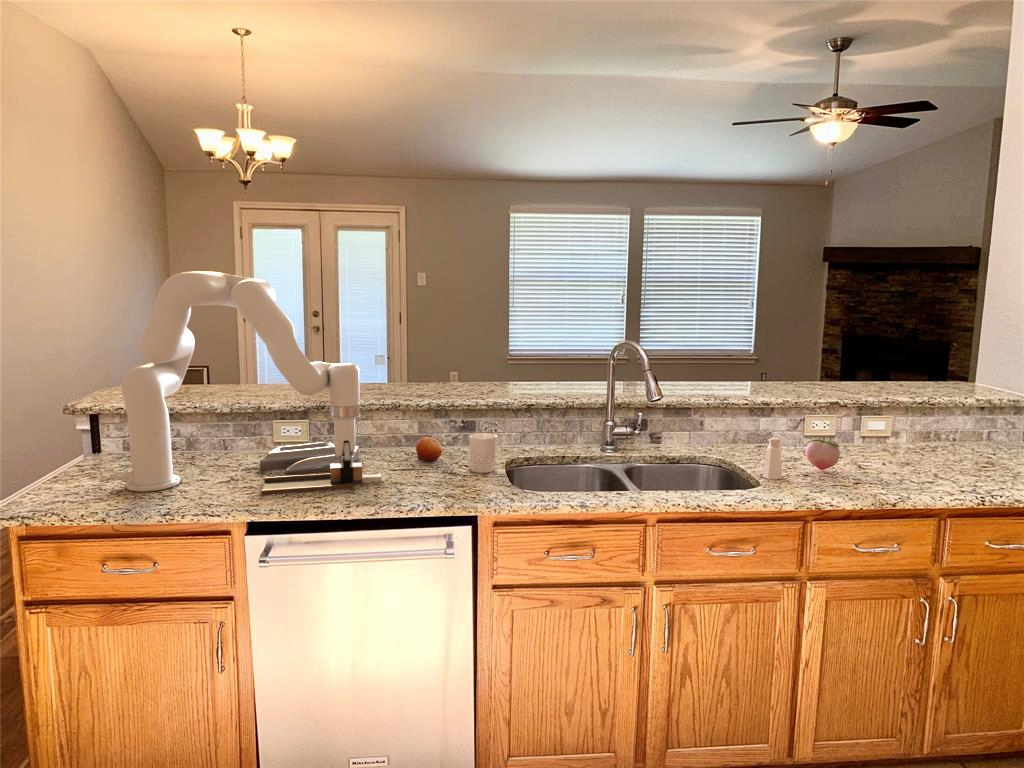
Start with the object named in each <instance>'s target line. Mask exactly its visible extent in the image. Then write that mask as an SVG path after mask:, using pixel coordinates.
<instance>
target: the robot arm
mask: <svg viewBox="0 0 1024 768" xmlns="http://www.w3.org/2000/svg"><path fill="white" fill-rule="evenodd" d="M276 298H277V296H276V291H275V289H274V288H273V286H272V285H271V284H270V283H269V282H268V281H266V280H264V279H259V278H252V277H245V276H241V275H235V274H229V273H224V272H218V271H183V272H178V273H175V274H173V275H171V276H170V277H168V278H167V279H166V280H165V281H164V282H163V283H162V285H161V286H160V289H159V290H158V294H157V297H156V300H155V303H154V306H153V309H152V311H151V314H150V316H149V319H148V321H147V324H146V328H145V330H144V333H143V335H142V338H141V341H140V353H141V355H142V357H143V358H144V359H145V360H146V361H148V362H150V363H146V364H141V365H138V366H135V367H133V368H131V369H130V370H128V371H127V372H126V373H125V374H124V376H123V378H122V381H121V393H122V397H123V401H124V404H125V409H126V416H127V426H128V427H127V428H128V441H129V455H130V466H131V468H130V469H127V470H124V471H122V470H119V471H117V470H116V471H114V472H113V480H116V481H125V480H126V481H127V482H125V489H127V490H129V491H132V492H154V491H155V492H156V491H162V490H166V489H170V488H172V487H175V486H177V485H178V484H180V482H181V478H180V476H179V475H176V474H174V470H173V468H174V467H173V453H172V439H171V438H172V437H171V436H172V435H171V425H170V424H171V422H170V415H169V410H168V409H169V408H168V407H167V403H166V401H165V398H166V397H169V396H171V395H173V394H175V393H176V392H177V391H178V390H179V389H180V387H181V386H182V384H183V381H184V379H185V376H186V374H187V372H188V371H187V370H188V368H189V366H190V363H191V360H192V357H193V355H194V351H195V347H196V346H195V343H196V341H195V337H194V335H193V333H192V331H191V330H190V329H189V328H188V327H187V326H188V323H189V321H190V318H191V312H192V307H194V306H216V305H217V306H225V307H230V308H235V309H236V310H237V311H238V313H240V315H241V316H242V318H243V319H244V320H245V321H246V322H247V323H248V324H249V326H250V327H251V328H252V330H254V332H255V333H256V335H257V336H258V337H259V338H260V339H261V340H262V342H263V343H264V344H265V346H266V350H267V352H268V354H269V356H270V358H271V359H272V361H273V364H274V365H275V367H276V368H277V370H278V371H279V373H280V374H281V375H282V376H283V377H284V379H285V380H286V382H288V384H289V385H290V386H291V387H292V388H293V389H294V390H295V391H297V392H298V393H299V394H301V395H304V396H313V395H317V394H318V393H320V392H321V391H325V390H329V414H330V415H329V417H330V419H333V432H334V433H333V434H334V435H333V437H334V446H335V456H336V457H338V456H340V463H341V468H340V476H341V483H351V482H353V467H352V456H354V455H355V446H356V437H357V436H356V435H357V434H356V433H357V432H356V429H357V428H356V419H359V418H360V417H361V399H360V398H361V396H360V395H361V393H360V392H361V391H360V389H361V388H360V367H359V366H358V365H357V364H355V363H350V362H349V363H348V362H345V363H344V362H343V363H330V362H323V361H313V362H311V361H310V360H309V359H308V358H307V356H306V355H305V354H304V352H303V351H302V350H301V348H300V347H299V344H298V342H297V340H296V336H295V327H294V324H293V321H291V320H290V318H289V317H288V316H287V315H286V313H284V311H283V309H282V308H281V307H280V306H279V305H278V303H277V302H276Z"/></svg>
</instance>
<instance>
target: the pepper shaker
mask: <svg viewBox="0 0 1024 768" xmlns="http://www.w3.org/2000/svg"><path fill="white" fill-rule="evenodd" d="M780 443H781V439H780V438H777V437H770V438H769V445H768V446H767V448H766V455H765V460H764V467H763V473H762V478H765V479H769V480H781V479H782V478H783V469H782V468H783V466H782V465H783V464H782V447H780Z"/></svg>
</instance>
